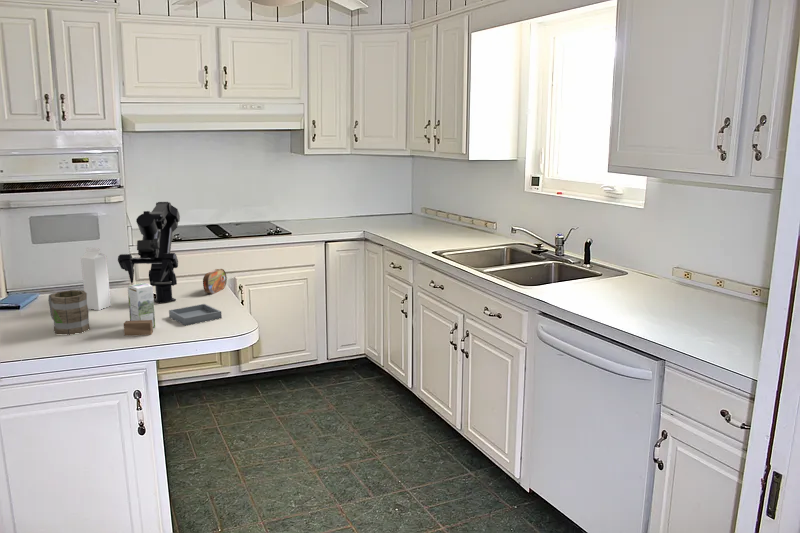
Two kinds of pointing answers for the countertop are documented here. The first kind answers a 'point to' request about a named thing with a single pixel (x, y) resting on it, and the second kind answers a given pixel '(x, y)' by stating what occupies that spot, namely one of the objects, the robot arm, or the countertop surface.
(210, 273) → the tin
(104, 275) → the milk
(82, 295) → the mug
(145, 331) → the block
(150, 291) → the syrup box
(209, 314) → the tray
